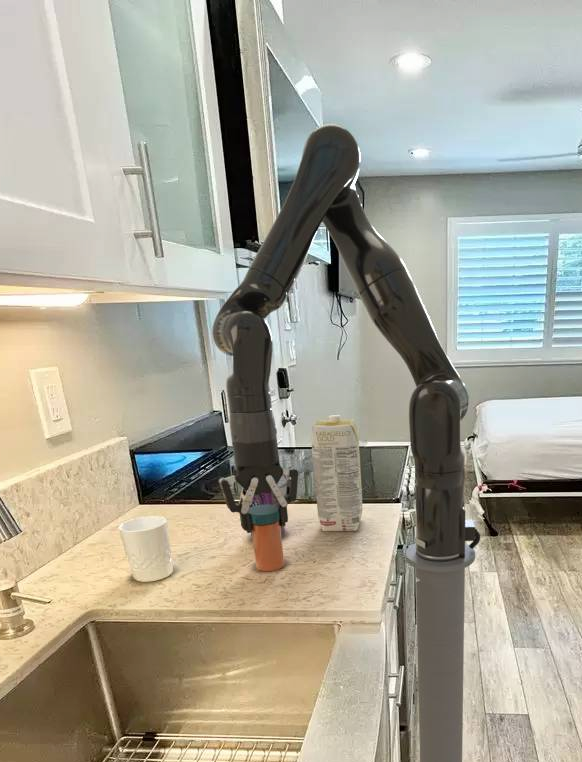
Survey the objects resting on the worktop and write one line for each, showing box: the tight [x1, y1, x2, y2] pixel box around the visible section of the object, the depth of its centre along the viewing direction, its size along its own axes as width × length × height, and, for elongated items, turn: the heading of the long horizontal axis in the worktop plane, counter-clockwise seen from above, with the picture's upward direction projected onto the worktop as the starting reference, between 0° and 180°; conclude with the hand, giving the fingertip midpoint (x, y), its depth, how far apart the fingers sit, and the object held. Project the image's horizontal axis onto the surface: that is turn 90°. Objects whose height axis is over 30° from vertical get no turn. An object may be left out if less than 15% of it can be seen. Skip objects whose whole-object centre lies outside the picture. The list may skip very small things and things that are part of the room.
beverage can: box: [249, 483, 286, 537], centre depth 119 cm, size 7×7×12 cm
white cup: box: [118, 515, 174, 583], centre depth 103 cm, size 8×8×10 cm
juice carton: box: [311, 414, 363, 532], centre depth 120 cm, size 9×8×24 cm
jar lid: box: [248, 504, 280, 525], centre depth 103 cm, size 6×6×2 cm
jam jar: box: [251, 520, 286, 572], centre depth 105 cm, size 5×5×11 cm
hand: (265, 527), depth 104 cm, fingers closed on jar lid, 5 cm apart
